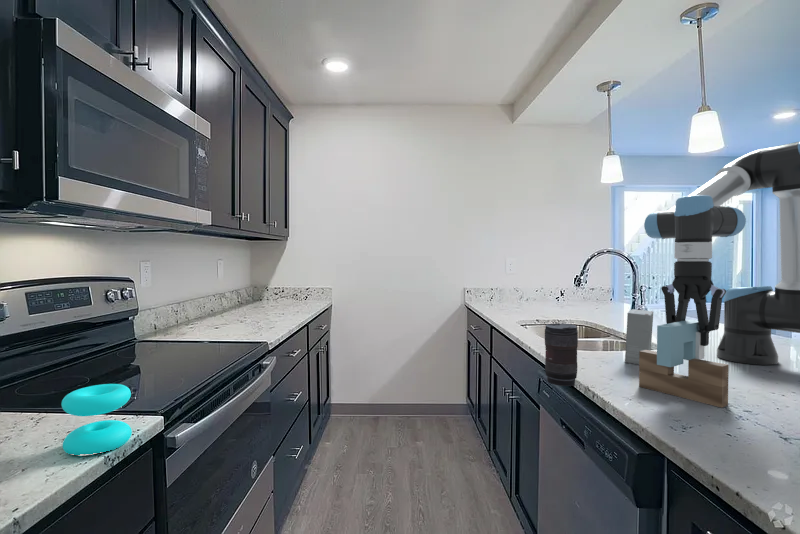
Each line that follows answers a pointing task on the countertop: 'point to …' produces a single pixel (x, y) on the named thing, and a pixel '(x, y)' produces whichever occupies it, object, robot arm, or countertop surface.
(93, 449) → the donuts
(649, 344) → the skincare box
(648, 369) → the walnut notched block
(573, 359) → the camera lens
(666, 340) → the light blue notched block
